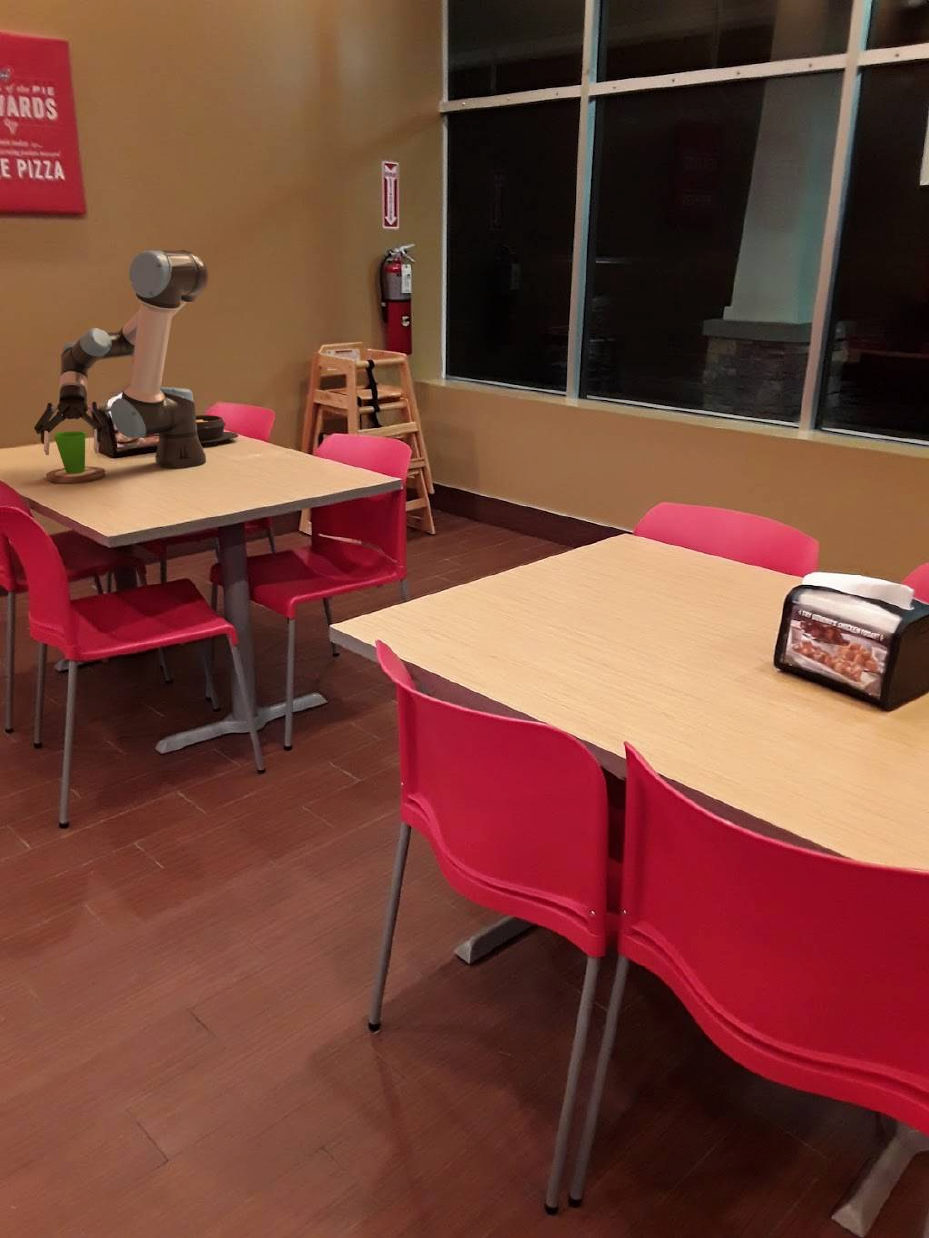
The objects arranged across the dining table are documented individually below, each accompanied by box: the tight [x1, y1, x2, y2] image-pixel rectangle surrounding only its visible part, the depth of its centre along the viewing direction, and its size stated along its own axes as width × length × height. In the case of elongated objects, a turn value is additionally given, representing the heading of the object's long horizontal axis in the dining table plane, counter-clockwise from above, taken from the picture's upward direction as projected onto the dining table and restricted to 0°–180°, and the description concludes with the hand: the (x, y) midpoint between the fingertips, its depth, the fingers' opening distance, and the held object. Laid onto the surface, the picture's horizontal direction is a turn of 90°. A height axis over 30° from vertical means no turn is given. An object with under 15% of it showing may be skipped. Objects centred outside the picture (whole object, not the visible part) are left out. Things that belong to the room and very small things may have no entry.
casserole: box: [196, 414, 239, 447], centre depth 321 cm, size 25×19×8 cm
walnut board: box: [45, 465, 106, 485], centre depth 274 cm, size 16×16×2 cm
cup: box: [52, 430, 87, 474], centre depth 272 cm, size 9×9×11 cm
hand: (71, 451), depth 271 cm, fingers open, 13 cm apart
